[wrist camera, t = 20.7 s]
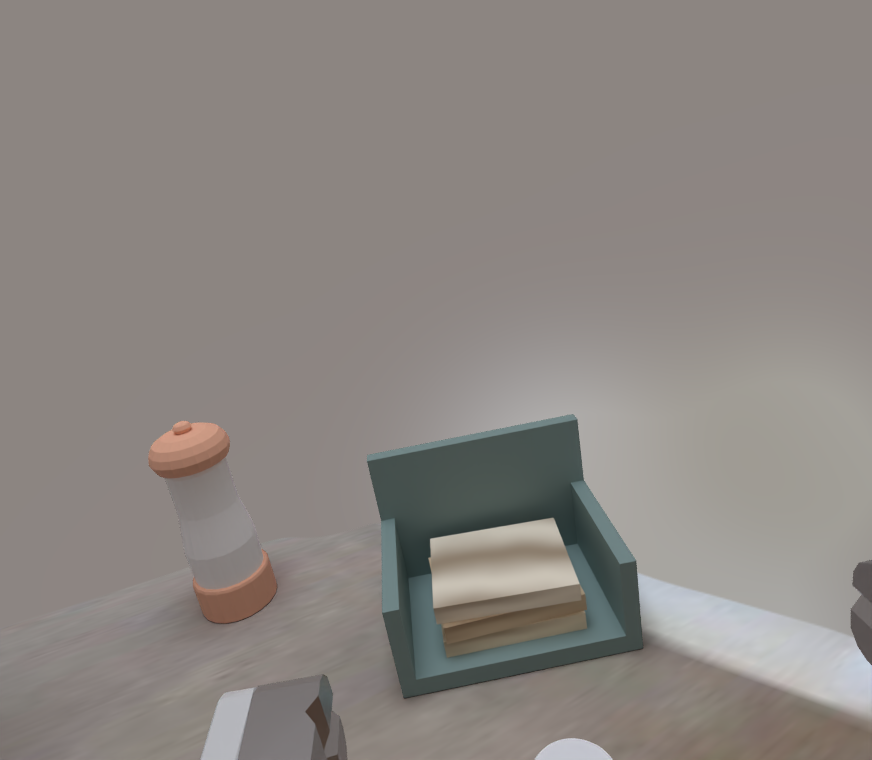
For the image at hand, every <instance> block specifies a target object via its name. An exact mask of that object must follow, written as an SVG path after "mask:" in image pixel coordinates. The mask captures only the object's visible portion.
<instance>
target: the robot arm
mask: <svg viewBox="0 0 872 760" xmlns="http://www.w3.org/2000/svg"><path fill="white" fill-rule="evenodd" d="M853 586H854V587H855V588H856V589H857V590H858V591H859V593H860V594H861V596H860V598H859V599H858V600H857V602H856V603H855V604H854V606H853V607H852V608H851V629H852V632H853V635H854V638H855V640H856V643H857V646H858V647H859V649H860V650H861V652H862V653H863V655H864V656H865V658H866V659H867V661H868V662H869V663H870V664H871V665H872V560H869V561H865V562H860V563H859V564H858V565H857V567H856V568H855V570H854V573H853ZM332 697H333V693H332V690H331V687H330V684H329V681H328V678H327V676H325V675H323V674H322V675H316V676H311V677H305V678H300V679H294V680H289V681H283V682H278V683H272V684H267V685H261V686H258V687H256V688H250V689H244V690H238V691H232V692H227V693H224V694H223V696H222V697H221V698H220V700H219V701H218V703H217V706H216V709H215V712H214V716H213V719H212V722H211V726H210V729H209V732H208V735H207V739H206V742H205V745H204V749H203V752H202V755H201V759H200V760H347V747H346V740H345V735H344V729H343V726H342V722H341V719H340V716H339V715H337V714H336V713H334V712H333V711H331V710H332Z"/></svg>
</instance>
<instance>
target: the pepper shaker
mask: <svg viewBox="0 0 872 760" xmlns="http://www.w3.org/2000/svg"><path fill="white" fill-rule="evenodd" d="M229 447H230V440H229V437H228V435H227V433H226V432H225V431H224V430H223V429H222V428H220V427H219V426H217V425H216V424H213V423H191V424H190V423H189V422H188V421H180V422H178V423H176V424H175V425H174V426H173V429H172V430H170V431H168V432H167V433H165V434H164V435H162V436H161V437H160V438H159V439H157V440H156V441H155V442H154V443H153V444H152V445H151V448H150V451H149V458H148V459H149V466H150V468H151V469H152V470H153V471H154V472H155V473H156V474H157V475H159V476H160V477H163V478H165V480H166V483H167V486H168V489H169V492H170V495H171V497H172V500H173V503H174V506H175V509H176V511H177V514H178V517H179V523H180V529H181V535H182V540H183V547H184V553H185V556H186V558H187V560H188V563H189V565H190V568H191V570H192V572H193V575H194V578H193V588H194V590H195V593H196V596H197V598H198V601H199V604H200V606H201V609H202V612H203V614H204V616H205V617H206V618H207V619H208V620H209V621H212V622H215V623H230V622H235V621H239V620H242V619H244V618H247V617H249V616H251V615H253V614H255V613H256V612H258V611H259V610H261V609H262V608H263V607H264V606H266V605H267V604H268V603H269V602H270V601H271V599H272V598H273V596H274V595H275V593H276V589H277V583H276V580H275V576H274V573H273V570H272V567H271V564H270V561H269V558H268V554H267V553H266V552H265V551H264V550H263V549H261V546H260V543H259V539H258V536H257V532H256V528H255V525H254V522H253V521H252V519H251V517H250V515H249V513H248V511H247V509H246V508H245V506H244V504H243V502H242V500H241V498H240V496H239V495H238V493H237V490H236V487H235V484H234V481H233V478H232V475H231V472H230V469H229V466H228V463H227V460H226V455H227V453H228V452H229Z"/></svg>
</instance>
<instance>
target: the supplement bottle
mask: <svg viewBox="0 0 872 760" xmlns="http://www.w3.org/2000/svg"><path fill="white" fill-rule="evenodd" d="M535 760H613V759H612V758H611V757H610V755H609V754H608V753H607V752H606V751H605V750H603V749H602V748H601V747H599V746H598V745H596V744H594V743H592V742H589V741H586V740H583V739H577V738H568V739H562V740H558V741H555V742H553V743H551V744H549V745H548V746H546V747H545V748H544V749H543V750H541V752H540V753H539V754H538V755H537V757H536V758H535Z"/></svg>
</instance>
